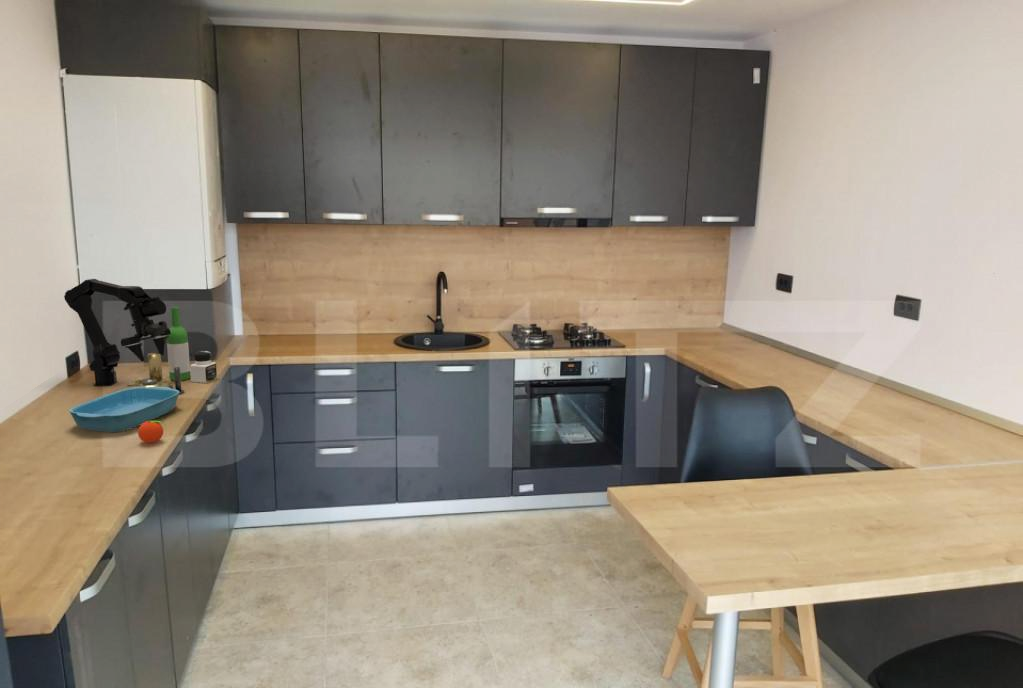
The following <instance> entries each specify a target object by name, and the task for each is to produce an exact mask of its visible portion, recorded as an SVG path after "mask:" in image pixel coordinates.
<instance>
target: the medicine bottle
mask: <svg viewBox="0 0 1023 688" xmlns="http://www.w3.org/2000/svg"><path fill="white" fill-rule="evenodd" d="M193 355H194V363H191V364H190V381H191V383H199V382H200V383H201V384H208V383H210V382H213V381H216V380H217V379H218V375H217V373H218V372H217V363H216V362H213V361H212V355H211V352H210V351H207V350H201V351H196V352H195V353H194V354H193Z"/></svg>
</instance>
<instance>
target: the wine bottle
mask: <svg viewBox="0 0 1023 688" xmlns="http://www.w3.org/2000/svg"><path fill="white" fill-rule="evenodd" d="M170 312H171V314H170V315H171V327H170V328H169V329H170V332H171V334H169V335H166V336H169V337H167V339H166V347H167V350H166V351H167V361H168V373H169V379H170V380H171V381H174V382H175V375H174V368H175V367H180V377H181V382H182V381H185V380H188V379H191V371H190V365H191V364H190V352H189V351H190V350H189V339H188V331H187V330H186V329H185V328H184V327H183V326H181V315H180V314H181V313H180V307H179V306H170Z"/></svg>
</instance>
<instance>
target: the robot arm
mask: <svg viewBox="0 0 1023 688" xmlns="http://www.w3.org/2000/svg"><path fill="white" fill-rule="evenodd" d="M96 292H97V293H101V294H105V295H109V296H113V297H116V298H118V299H119V300H120V301H122V302H123V303H125V304H126V305H125V306H124V308H123V310H124V311H129V314H130V317H131V319H132V323H131V324H130V326H131V327H134V329H135V334H133V336H128V337H127V336H126V337H124V338H121V340H120V345H121V347H125V349H126V348H127V349H128V350H130V352H132V353H133V354H134V355H135V356H136V357H137V358H138V359H139V360H140V362H145V357H144V354H143V350H142V345H143V343H142V342H141V341H145V340H148V339H152V338H153V339H152V341H153V343H154V345H155V346H156V347H155V348H156V349H157V351H158V353H161V357H162V356H164V354H165V343H166V341H167V337H169V336H167V335H169V334H171V332H170V328H169V327H168V323H167V322H166V321H164V320H162V321H158V323H154V320H153V319H151V318H152V317H157V316H162V315H165V313H166V311H167V305H166V304H165V303H164V301H163V300H161V299H160V297H159V296H156V297H151V296H150V295H149V294H148V293H147V292H146V291H145V290H144V289H143V287H142V286H139V285H119V284H116V283H111V282H106V281H103V280H99V279H96V278H90V279H88V278H87V279H85V280H83V281H82V282H81V283H80V284H78V285H76V286H74V287H72V288H71V289H68V290H66V291H65V293H64V296H63V298H64V301H65V302H66V304H67V305H68V306H69V308H70V309H71V310H72V311H74V312H75V313H77V315H78V317H79V319H80V321H81V324H82V325H83V328H84V329H85V332H86V334H87V335H88V338H89V340H90V342H91V344H92V345H93V350H92V351H93V352H92V357H93V359H94V360H92V361H91V363H90V364H89V366H88V367H89V369H90V371H91V372H94V384H93V386H96V387H97V386H98V387H99V386H100V387H101V386H103V387H105V386H106V387H107V386H109V387H110V386H113V385H115V384H116V383H117V382H118V379H117V371H115V368H117V367H118V365H119V362H120V359H121V355H120V353H121V352H120V351H119V349H118V347H117V344H115V343H113V344H111V343H110V342H108V340H107V338H106V335H105V334H104V332H103V330H102V327H101V326H100V323H99V321H98V320H97V317H96V315H95V314H94V311H93V310H92V309H93V308H92V306H93V305H92V304H93V300H92V296H93V295H94V294H96Z"/></svg>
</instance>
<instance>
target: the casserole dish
mask: <svg viewBox="0 0 1023 688" xmlns="http://www.w3.org/2000/svg"><path fill="white" fill-rule="evenodd" d="M127 388H128V387H127ZM127 388H123V389H121V390H118V391H114V392H112V393H108V394H106V395H104V396H103V395H102V396H100V397H97V398H94V399H92V400H89V401H85V402H83V403H81V404H78V405H76V406H73V407H72V408H70V409H69V413H70V414H71V417H72V419H73V421H74V423H75V424H76V425H77V426H78V427H79V428H81V429H83V430H85V431H94V432H103V433H104V432H106V433H120V432H119V431H121V432H124V431H123V430H126V431H128V430H127V429H129V430H131V429H130V428H132V429H133V427H134V428H136V427H135V426H137V427H139V426H141V425H142V423H144V422H146V421H149V420H150V421H153V420H155V419H157V418H159V416H160V417H162V416H164V415H165V414H168V413H170V412H171V411H172V410H173V409H174V408H175V406H176V404H177V402H178V401H177V400H178V397H179V395H180V394H179V391H178V390H176V389H175V388H173V389H171V388H169V387H158V386H152V387H134V388H128V389H127ZM161 415H162V416H161ZM154 418H155V419H154ZM152 419H153V420H152ZM140 424H141V425H140ZM138 425H139V426H138Z"/></svg>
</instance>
